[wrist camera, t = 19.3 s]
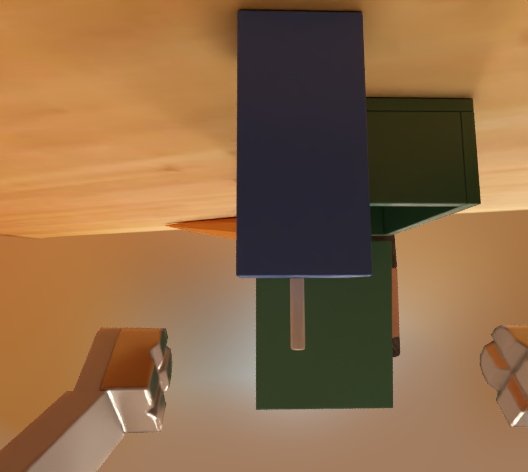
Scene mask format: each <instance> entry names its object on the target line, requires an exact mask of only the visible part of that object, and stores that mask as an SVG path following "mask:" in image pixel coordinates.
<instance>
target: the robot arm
mask: <svg viewBox="0 0 528 472" xmlns="http://www.w3.org/2000/svg"><path fill="white" fill-rule="evenodd" d="M491 335H492V338H493V340H494V341H492V342H490V343H489V344H487V345H485V346H484V348H483V350H482V352H481V354H480V366H481V370H482V374H483V376H484V378H485V380H486V382H487V384H489V385H490V386H491V387H493V388H494V389H495V390H496V391H498V393H497V398H496V401H497V403H498V404H499V406H500V409H501V410H502V412H503V414H504V416H505V418H506V420H507V422H508V424H509V426H510V427H528V325H501V326H499V327H497V328H495V329H494V331H493V333H492V334H491ZM167 339H168V336H167V332H166V329H164V328H163V329H162V328H160V329H159V328H101V329H100V330H99V331H98V332H97V334H96V336H95V338H94V341H93V343H92V346H91V348H90V351H89V353H88V356H87V358H86V361H85V363H84V366H83V368H82V371H81V373H80V376H79V379H78V381H77V384H76V386H75V388H74V391H67V392H65V393H64V394H63V395H62V396H61V397H60V398H59V399H58V400H57V401H55V403H53V404H52V405H51V406H50V407H49V408H48V409H46V410H45V411H44V412H43V413H42V414H41V415H40V416H39V417H38V418H37V419H35V420H34V421H33V422H32V423H31V424H30V425H29V426H27V427H26V428H25V429H24V430H23V431H22V432H21V433H20V434H19V435H18V436H16V437H15V438H14V439H13V440H12V441H11V442H10V443H8V444H7V445H6V446H5V447H4V448H3V449H2V450H1V451H0V472H96V471H97V470H98V469H99V468H100V466H101V465H102V464H103V462H104V461H105V460H106V459H107V457H108V456H109V455H110V453H111V452H112V451H113V450H114V448H115V447H116V446H117V444H118V443H119V442H120V441H121V439H122V438H123V437H124V433H143V432H161V428H162V423H163V417H164V412H165V407H166V402H165V398H164V394H163V393H164V392H165V391H166V390H167V389H168V388H169V386H170V380H171V372H172V354H171V350H170V348H169V347H167V346H166V344H167Z"/></svg>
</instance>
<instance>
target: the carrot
mask: <svg viewBox="0 0 528 472" xmlns="http://www.w3.org/2000/svg"><path fill="white" fill-rule="evenodd" d="M165 226H169V227H173V228H178V229H182V230H186V231H191V232H197V233H202V234H208V235H213V236H219V237H225V238H231V239H236V218H228V219H216V220H204V221H193V222H185V223H178V224H172V225H165Z"/></svg>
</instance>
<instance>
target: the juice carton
mask: <svg viewBox="0 0 528 472" xmlns="http://www.w3.org/2000/svg"><path fill="white" fill-rule="evenodd" d="M236 275H237V276H238V277H240V278H290V325H291V349H293V350H304V349H305V312H304V278H351V277H365V276H372V249H371V223H370V197H369V170H368V144H367V118H366V92H365V66H364V40H363V15H362V13H361V12H305V11H245V10H239V11H238V24H237V218H236Z"/></svg>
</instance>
